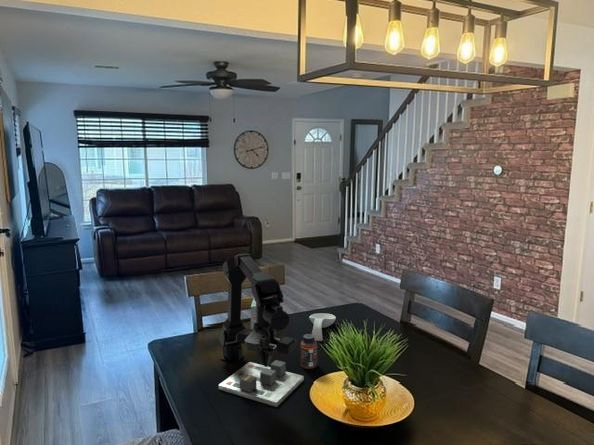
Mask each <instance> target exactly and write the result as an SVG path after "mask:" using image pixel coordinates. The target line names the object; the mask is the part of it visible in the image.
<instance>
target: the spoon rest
mask: <svg viewBox="0 0 594 445" xmlns="http://www.w3.org/2000/svg"><path fill="white" fill-rule="evenodd" d="M308 319H309V320H310V321H311V323H312V324H313V327H312V332H311V334H312V335H314V337H315V341H316V342H322V341H324V339H323V330H322V328H323V329H325V328H327V327H328V328H329V326H332V324H334V323H335V321H336V319H337V318H336V316H335V315H333V314H331V313H322V312H321V313H313V314H311V315H310V316H309V318H308Z"/></svg>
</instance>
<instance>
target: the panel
mask: <svg viewBox="0 0 594 445" xmlns="http://www.w3.org/2000/svg"><path fill="white" fill-rule="evenodd" d="M265 368H267V369H270V366H268V367H265V366H264V364H260V363H259V364H258V363H255V362H252V361H249V362H247V363H246V364H245V365H243V366H242V367H240V368H239V369H238V370H236V372H234V373H233V374H232V375H230V376H228V377H227V378H226V379H225V380H223V381H222V382H220V383H219V384H218V390H220V391H223V392H227V393H230V394H233V395H237V396H240V397H242V398H243V397H244V398H246V399H248V400H249V399H250V400H253V401H256V402H259V403H262V404H266V405H268V406H272V407H275V408H277V407H278V406H279V405H280V404H281V403H282V402H284V401H285V400H286V398H288V397H289V396H290V395H291V393H293V391H294V390H295V389H297V388H298V386H299V385H300V384H301V383H303V382H304V377H305V375H301V374H297V373H293V372H289V371H286V372H285V373H284V374H283V375H282V376H281V377H280V376H277V375H276V381H275V382H274V383H273V384H272V385H271V386H270V385H267V384H263V383H260V372H262V371H263V370H264V369H265ZM246 374H247V375H252V376H254V377H256V385H257V387H256V388H255V389H254V390H253V391H252V392H247V391H244V390H241V389H240V379H241V378H242V377H243V376H244V375H246Z"/></svg>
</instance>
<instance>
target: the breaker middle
mask: <svg viewBox="0 0 594 445" xmlns="http://www.w3.org/2000/svg"><path fill="white" fill-rule="evenodd" d="M275 381H276V371H275V370H271V369H267V368H265V369H264V370H263V371H262V372H260V383H263V384H267V385H270V386H271V385H272V384H273V383H274V382H275Z"/></svg>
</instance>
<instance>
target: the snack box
mask: <svg viewBox="0 0 594 445" xmlns="http://www.w3.org/2000/svg"><path fill="white" fill-rule="evenodd" d="M254 299H255V298H254V297H253V299H252V302H251V305H250V329H253V328H254V323H256V301H255V300H254Z"/></svg>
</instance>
